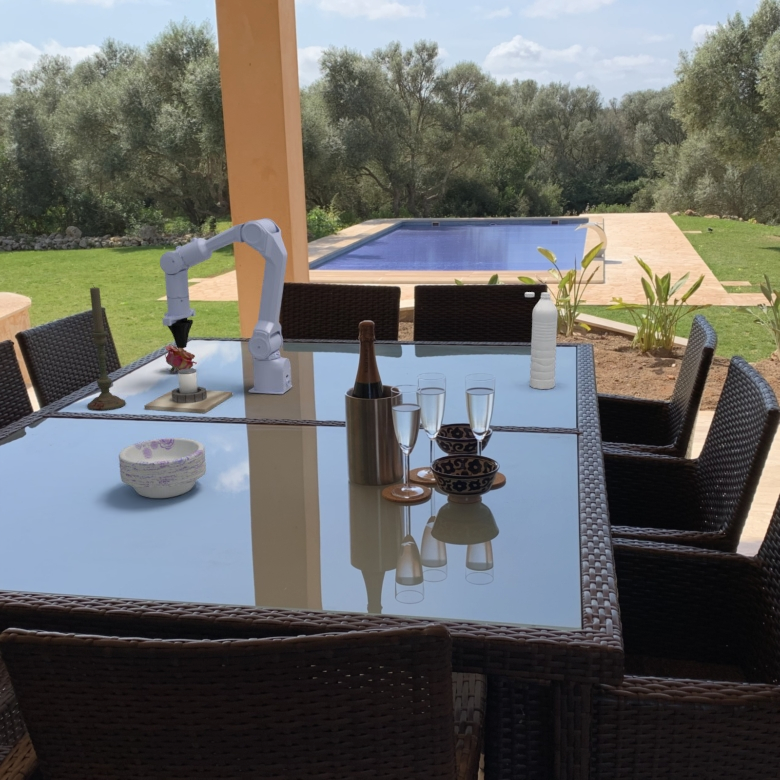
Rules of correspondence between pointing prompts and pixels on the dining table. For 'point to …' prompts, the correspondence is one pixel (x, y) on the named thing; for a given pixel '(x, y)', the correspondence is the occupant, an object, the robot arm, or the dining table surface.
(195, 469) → the paper bowls
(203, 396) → the tan square tray
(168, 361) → the flower
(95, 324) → the candlestick holder
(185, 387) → the grey capped cylinder
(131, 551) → the dining table surface
